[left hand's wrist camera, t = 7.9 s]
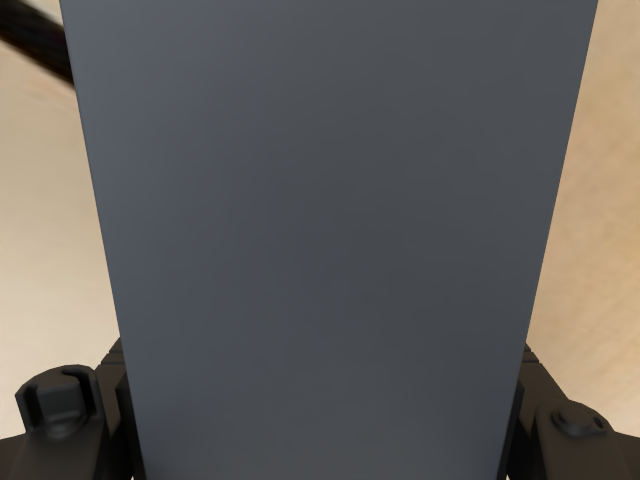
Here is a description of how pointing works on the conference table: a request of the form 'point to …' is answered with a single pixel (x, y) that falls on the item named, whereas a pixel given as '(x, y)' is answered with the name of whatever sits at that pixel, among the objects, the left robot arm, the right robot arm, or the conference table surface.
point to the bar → (325, 222)
